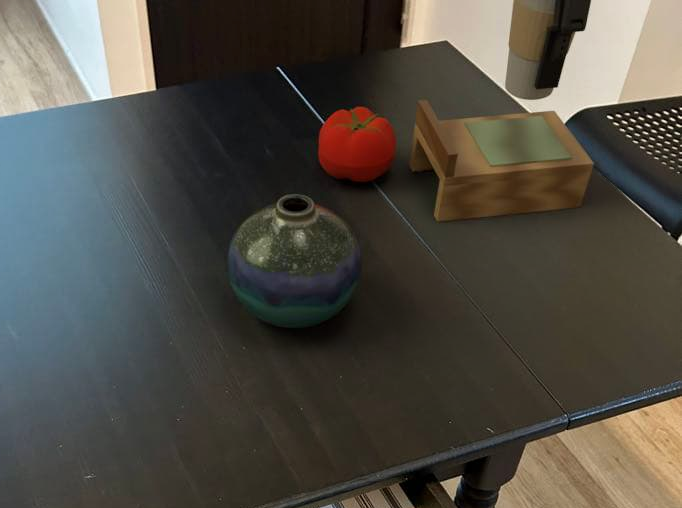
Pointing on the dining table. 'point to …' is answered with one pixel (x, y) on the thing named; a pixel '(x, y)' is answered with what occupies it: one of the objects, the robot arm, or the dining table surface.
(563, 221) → the dining table surface
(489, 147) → the wooden toy bed
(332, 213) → the vase
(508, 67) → the coffee cup
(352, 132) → the tomato
